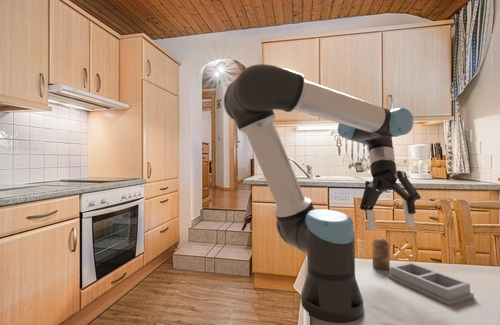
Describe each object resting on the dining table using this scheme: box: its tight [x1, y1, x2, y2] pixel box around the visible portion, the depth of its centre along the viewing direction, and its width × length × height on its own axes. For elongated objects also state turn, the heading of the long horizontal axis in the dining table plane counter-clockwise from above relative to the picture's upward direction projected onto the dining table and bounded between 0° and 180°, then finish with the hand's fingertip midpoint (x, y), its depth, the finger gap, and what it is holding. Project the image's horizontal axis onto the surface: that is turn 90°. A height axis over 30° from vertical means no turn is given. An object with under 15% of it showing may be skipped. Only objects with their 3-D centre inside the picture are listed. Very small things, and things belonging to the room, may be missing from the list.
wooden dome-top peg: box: [371, 237, 391, 271], centre depth 90 cm, size 5×5×10 cm
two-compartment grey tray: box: [388, 262, 475, 306], centre depth 75 cm, size 18×10×4 cm, turn 21°
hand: (390, 228), depth 79 cm, fingers open, 13 cm apart
